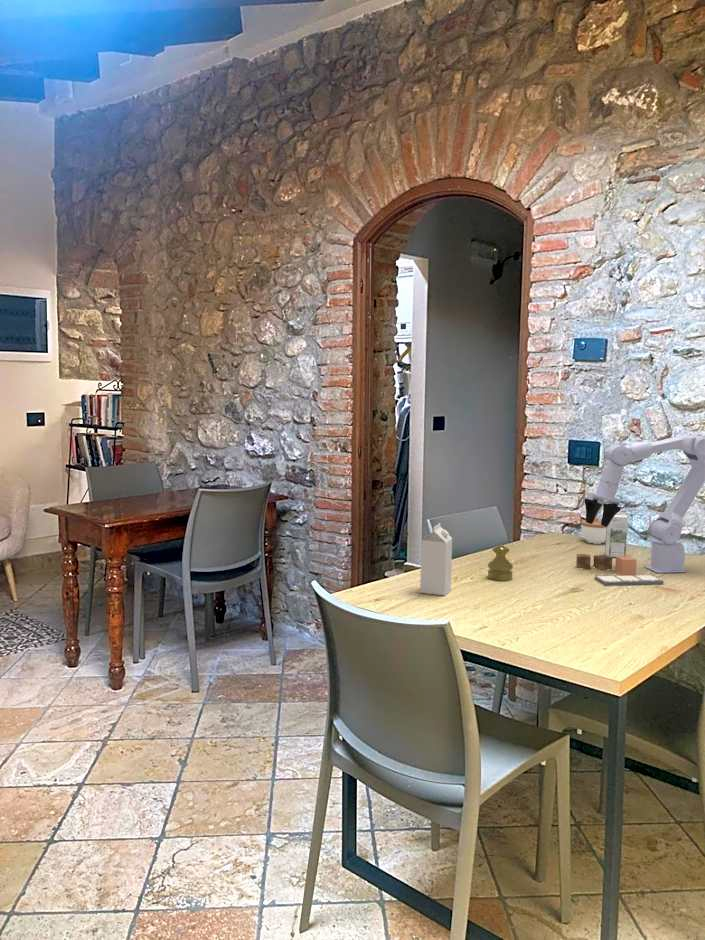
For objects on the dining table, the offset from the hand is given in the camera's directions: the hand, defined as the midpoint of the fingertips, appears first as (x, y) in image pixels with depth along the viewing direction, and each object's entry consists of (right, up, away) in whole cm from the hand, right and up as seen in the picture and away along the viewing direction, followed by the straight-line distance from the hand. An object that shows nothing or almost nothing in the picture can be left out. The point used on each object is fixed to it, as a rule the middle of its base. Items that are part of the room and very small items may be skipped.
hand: (596, 524), depth 241 cm
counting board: (+6, -16, -12) cm, 21 cm away
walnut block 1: (-3, -14, +5) cm, 15 cm away
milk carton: (-53, -17, -25) cm, 61 cm away
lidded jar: (+13, -10, +44) cm, 47 cm away
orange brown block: (+8, -15, -2) cm, 17 cm away
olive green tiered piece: (-32, -16, -9) cm, 37 cm away
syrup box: (+13, -13, +22) cm, 28 cm away
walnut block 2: (+3, -14, +4) cm, 15 cm away
